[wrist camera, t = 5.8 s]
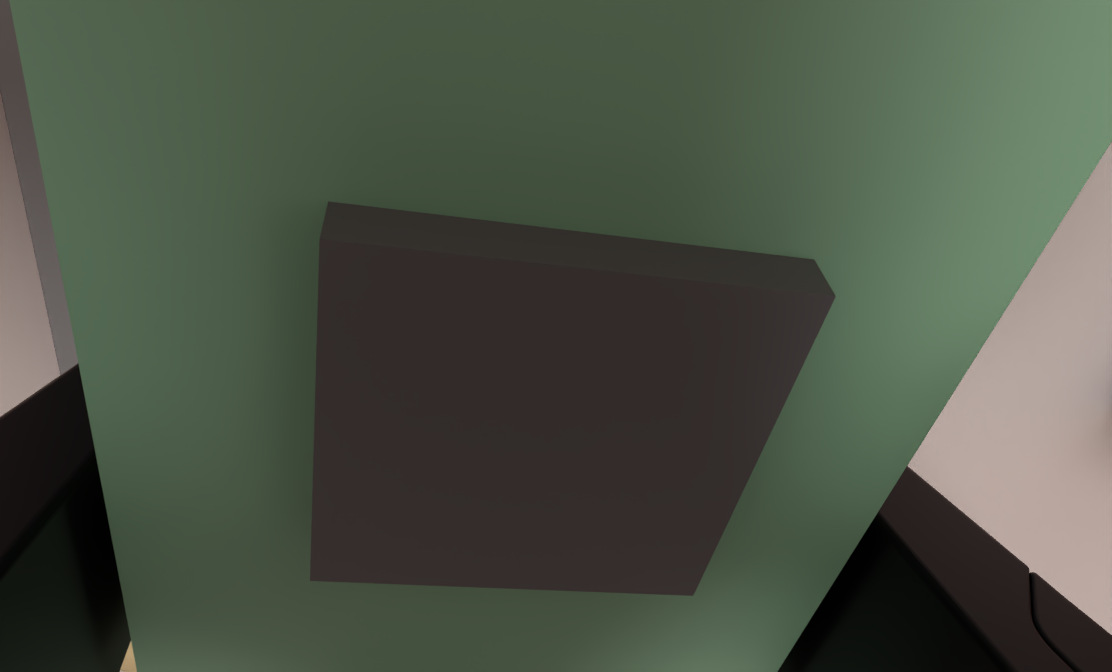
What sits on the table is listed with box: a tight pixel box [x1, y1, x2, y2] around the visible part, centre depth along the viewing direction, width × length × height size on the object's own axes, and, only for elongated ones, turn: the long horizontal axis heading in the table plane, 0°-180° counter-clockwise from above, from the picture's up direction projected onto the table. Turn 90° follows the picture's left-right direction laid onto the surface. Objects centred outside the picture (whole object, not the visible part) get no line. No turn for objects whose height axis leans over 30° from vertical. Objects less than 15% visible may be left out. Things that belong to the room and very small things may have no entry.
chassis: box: [0, 0, 137, 672], centre depth 12 cm, size 17×14×6 cm
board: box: [9, 0, 1112, 672], centre depth 9 cm, size 12×6×4 cm, turn 169°
